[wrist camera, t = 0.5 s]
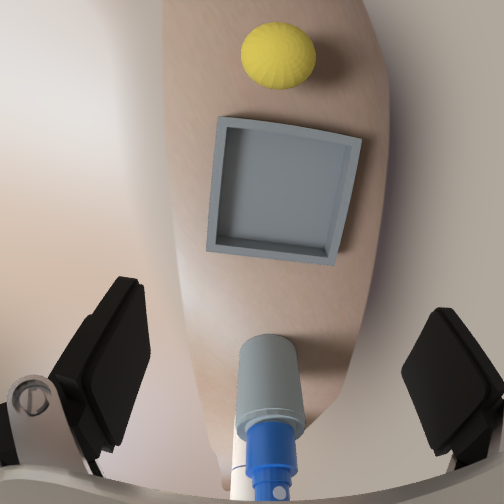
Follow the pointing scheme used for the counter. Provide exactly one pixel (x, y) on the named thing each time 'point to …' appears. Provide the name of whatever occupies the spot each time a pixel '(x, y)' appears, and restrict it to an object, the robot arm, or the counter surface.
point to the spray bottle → (269, 414)
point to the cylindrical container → (240, 472)
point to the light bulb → (278, 55)
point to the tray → (280, 190)
